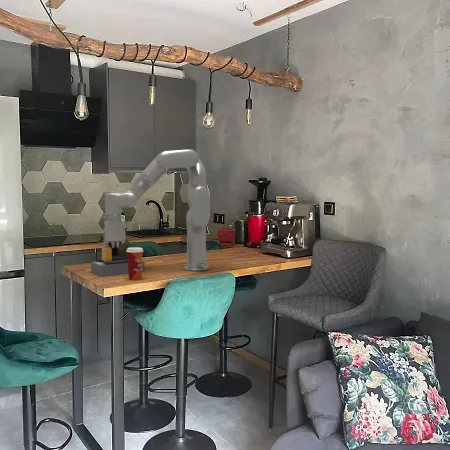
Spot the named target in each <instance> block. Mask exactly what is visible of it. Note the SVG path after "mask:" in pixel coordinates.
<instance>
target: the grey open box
mask: <svg viewBox="0 0 450 450" xmlns="http://www.w3.org/2000/svg"><path fill="white" fill-rule="evenodd" d="M90 272H91V273H92V274H95V275H97V276H100V277H101V278H102V277H103V278H104V277H110V276H119V275H127V274H128V275H129V273H128V259H127V257H116V258H112V261H109V262H105V261H103V260H102V258H97V259H96V261H91V262H90ZM145 272H146V263H145V261H144V260H142V273H145Z"/></svg>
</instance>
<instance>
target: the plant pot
mask: <svg viewBox="0 0 450 450" xmlns="http://www.w3.org/2000/svg"><path fill="white" fill-rule="evenodd" d="M236 231H237V229H236V228H232V227H231V228H230V227H229V228H228V227H218V228H217V231H216V232H217V240H218V242H219V244H220V245H219V244H218V245H219V246H222V247H223V246H225V247H229V246H233V245H234V244H235V242H234V241H235V239H236V234H237V233H236Z"/></svg>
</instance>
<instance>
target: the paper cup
mask: <svg viewBox="0 0 450 450" xmlns="http://www.w3.org/2000/svg"><path fill="white" fill-rule="evenodd" d="M126 252H127V259H128V273H129V274H128V280H129V281H130V280H132V281H135V280H136V281H139V280H141V279H142V277H143V276H142V274H143V272H142V261H143V255H144V254H143V253H144V249H143V248H142V247H137V246H136V247H132V248H127V251H126Z"/></svg>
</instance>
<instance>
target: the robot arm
mask: <svg viewBox="0 0 450 450" xmlns="http://www.w3.org/2000/svg"><path fill="white" fill-rule="evenodd" d="M181 168H182V169H183V168H185V169H186V170H187V172H188V200H189V202H190V208H189V209H188V211H187V213H186V216H185V221H186V237H187V238H186V265H184V266H183V268H184V270H185V271H191V272H192V271H194V272H198V271H199V272H201V271H207V270H209V269H210V268H209V267H210V266H209V264H208V263H207V259H206V258H207V250H206V249H207V247H206V246H207V243H206V242H207V241H206V240H207V231H206V230H207V229H206V228H207V227H206V225H207V224H208V223H209V221H210V215H211V213H210V211H211V193H210V190H209V189H208V188H207V171H206V167H205V164H204V162H203V161H202V159H200V156H199V153H198V152H197V151H196V150H194V149H190V148H189V149H176V150H175V149H174V150H164V151H162V152H160V153H159V154H157V156H156V157H154V159H153V160H152V161H151V162H150V163H149V165H148V166H146V167H145V169H144V170H143V171H142V172H141V173H140V174H139V175H138V177H137V179H135V180H134V182H133V183H131V185H130V186H129V187H128V188H127V190H126V191H124V192H121V193H120V192H106V193H105V194H104V204H105V215H103V216H102V219H104V220H105V221H104V223H103V227H102V228H103V229H102V240H103V241H102V242H103V243H102V244H103V245H105V246H106V245H109V246H110V247H111V248H112V256H117V254H118V247H119V245H120V244H122V243H125V239H127V237H126V235H127V234H126V226H125V221H124V220H123V219H122V216H123V215H122V208H130V209H131V208H134V207H135V206H136V205H137V204H138V202H139V200H140V199H141V198H142V197H143V196H144V194H146V193H147V191H149V190H150V189H152V187H154V186H155V185H156V184H157V183H158V182H159V181H160V179H161V178H163V176H164V175H165V174H166V173H167V172H168V171H169V170H170V169H181ZM114 242H115V246H114Z"/></svg>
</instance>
